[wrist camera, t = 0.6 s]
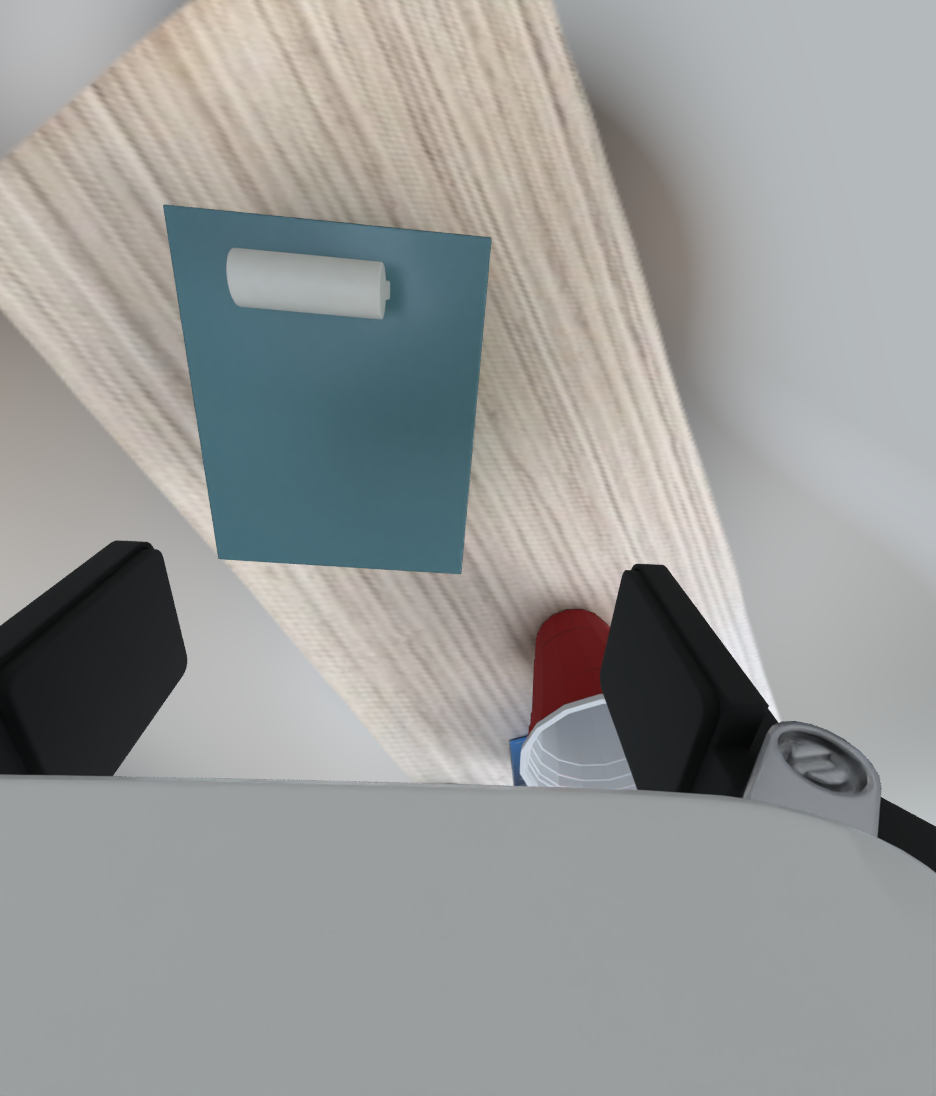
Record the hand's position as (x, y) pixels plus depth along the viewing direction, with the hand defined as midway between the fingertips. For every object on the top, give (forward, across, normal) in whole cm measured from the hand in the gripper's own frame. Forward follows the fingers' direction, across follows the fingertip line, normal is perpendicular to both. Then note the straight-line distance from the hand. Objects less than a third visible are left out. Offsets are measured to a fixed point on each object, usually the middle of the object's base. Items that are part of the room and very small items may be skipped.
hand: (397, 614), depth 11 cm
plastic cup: (+24, -11, +18) cm, 32 cm away
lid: (+15, +4, 0) cm, 16 cm away
